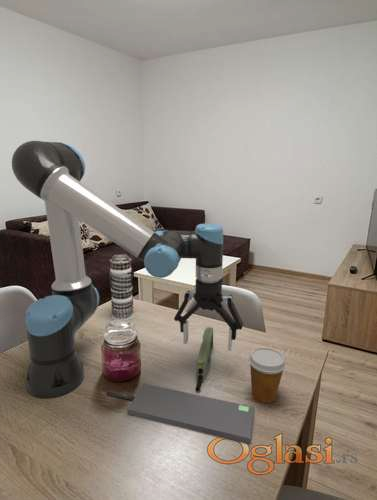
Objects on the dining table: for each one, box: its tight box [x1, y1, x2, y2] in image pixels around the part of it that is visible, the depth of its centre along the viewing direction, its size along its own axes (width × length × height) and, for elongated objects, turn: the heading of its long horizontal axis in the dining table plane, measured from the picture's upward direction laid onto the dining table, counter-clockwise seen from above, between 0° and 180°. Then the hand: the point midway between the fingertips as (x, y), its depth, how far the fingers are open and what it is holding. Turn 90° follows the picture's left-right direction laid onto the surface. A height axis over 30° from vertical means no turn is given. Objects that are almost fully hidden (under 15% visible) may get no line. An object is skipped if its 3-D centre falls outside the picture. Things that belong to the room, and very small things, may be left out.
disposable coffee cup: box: [248, 346, 287, 404], centre depth 87 cm, size 10×10×12 cm
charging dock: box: [106, 383, 255, 444], centre depth 83 cm, size 38×10×2 cm, turn 74°
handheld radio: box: [194, 326, 214, 392], centre depth 100 cm, size 7×3×25 cm
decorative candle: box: [108, 253, 134, 321], centre depth 128 cm, size 9×9×25 cm
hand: (207, 345), depth 99 cm, fingers open, 13 cm apart
